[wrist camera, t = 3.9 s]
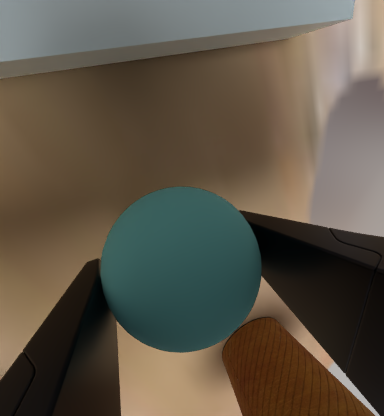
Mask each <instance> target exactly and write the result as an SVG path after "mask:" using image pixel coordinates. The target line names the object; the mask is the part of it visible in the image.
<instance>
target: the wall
mask: <svg viewBox="0 0 384 416" xmlns="http://www.w3.org/2000/svg"><path fill="white" fill-rule="evenodd" d="M354 3H355V0H0V79H3V78H10V77H17V76H24V75H32V74H39V73H46V72H53V71H60V70H68V69H75V68H82V67H89V66H96V65H104V64H111V63H118V62H125V61H132V60H140V59H147V58H154V57H161V56H169V55H176V54H183V53H190V52H197V51H205V50H212V49H219V48H226V47H233V46H241V45H248V44H255V43H262V42H269V41H277V40H284V39H289V38H292V37H296V36H299V35H302V34H305V33H308V32H311V31H315V30H318V29H321V28H324V27H327V26H331V25H334V24H337V23H340V22H343V21H347V20H350V19H352V18H353V10H354Z"/></svg>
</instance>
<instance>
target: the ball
mask: <svg viewBox="0 0 384 416" xmlns="http://www.w3.org/2000/svg"><path fill="white" fill-rule="evenodd" d="M261 272H262V268H261V255H260V251H259V247H258V243H257V240H256V238H255V235H254V233H253V231H252V229H251V227H250V225H249V224H248V222H247V221H246V219H245V218H244V217H243V215H242V214H241V213H240V212H239V211H238V210H237V209H236V208H235V207H234V206H233V205H232V204H230V203H229V202H228V201H226V200H225V199H223V198H222V197H220V196H218V195H216V194H214V193H212V192H209V191H206V190H203V189H199V188H194V187H169V188H165V189H160V190H157V191H155V192H152V193H149V194H147V195H145V196H143V197H142V198H140V199H139V200H137V201H136V202H134V203H133V204H132V205H130V206H129V207H128V208H127V209H126V210H125V211H124V212H123V213H122V214H121V215H120V217H119V218H118V219H117V221H116V222H115V224H114V225H113V226H112V228H111V230H110V232H109V234H108V236H107V239H106V242H105V245H104V248H103V252H102V257H101V272H100V276H101V283H102V289H103V293H104V296H105V299H106V301H107V304H108V307H109V309H110V310H111V312H112V314H113V315H114V317H115V318H116V320H117V321H118V323H119V324H120V325H121V326H122V327H123V328H124V329H125V330H126V331H127V332H128V333H129V334H130V335H132V336H133V337H134V338H136V339H137V340H139V341H140V342H142V343H144V344H146V345H148V346H151V347H153V348H156V349H159V350H163V351H168V352H180V353H182V352H192V351H197V350H201V349H205V348H208V347H210V346H213V345H215V344H217V343H219V342H220V341H222V340H224V339H225V338H227V337H228V336H229V335H231V334H232V333H233V332H234V331H235V330H236V329H237V328H238V327H239V326H240V325H241V323H242V322H243V321H244V320H245V318H246V317H247V316H248V314H249V312H250V311H251V309H252V307H253V305H254V303H255V300H256V297H257V295H258V291H259V287H260V281H261Z"/></svg>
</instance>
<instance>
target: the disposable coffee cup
mask: <svg viewBox="0 0 384 416" xmlns="http://www.w3.org/2000/svg"><path fill="white" fill-rule="evenodd" d="M222 359H223V362H224V365H225V367H226V370H227V373H228V376H229V379H230V382H231V384H232V387H233V390H234V393H235V395H236V398H237V401H238V404H239V407H240V410H241V413H242V415H243V416H375V415H374V414H373V413H372V412H371V411H370V410H369V409H368V408H367V407H366V406H365V405H363V403H361V401H359V400H358V399H357V398H356V397H355V396H354V395H353V394H352V393H351V392H350V391H349V390H348V389H347V388H346V387H345V386H344V385H343V384H342V383H341V382H340V381H339V380H338V379H337V378H336V377H335V376H333V375H332V374H331V373H330V372H329V371H328V370H327V369H326V368H325V367H324V366H323V365H322V364H321V363H320V362H319V361H318V360H317V359H316V358H315V357H314V356H313V355H312V354H311V353H310V352H308V351H307V350H306V349H305V348H304V347H303V346H302V345H301V344H300V343H299V342H298V341H297V340H296V339H295V338H294V337H293V336H292V335H291V334H290V333H289V332H288V331H287V330H286V329H285V328H284V327H282V326H281V325H280V324H279V323H278V322H277V321H276V320H275V319H273V318H260V319H257V320H254V321H252V322H250V323H248V324H246V325H244V326H243V327H242V328H240V329H239V330H238V331H237V332H236V333H234V334H233V336H232V337H231V338H230V339H229V341H228V342H227V343H226V345H225V347H224V350H223V353H222Z"/></svg>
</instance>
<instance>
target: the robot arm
mask: <svg viewBox="0 0 384 416" xmlns="http://www.w3.org/2000/svg"><path fill="white" fill-rule="evenodd" d="M239 212H240V213H241V214H242V215H243V217H244V218H245V219H246V221H247V222H248V224H249V225H250V227H251V229H252V231H253V233H254V235H255V238H256V240H257V243H258V247H259V251H260V255H261V268H262V272H261V276H262V277H263V278H264V279H265V280H266V281H267V283H268V284H269V285H270V286H271V287H272V289H273V290H274V291H275V292H276V293H277V294H278V296H279V297H280V298H281V299H282V300H283V302H284V303H285V304H286V305H287V306H288V307H289V309H290V310H291V311H292V312H293V313H294V314H295V316H296V317H297V318H298V319H299V320H300V322H301V323H302V324H303V325H304V326H305V327H306V329H307V330H308V331H309V332H310V333H311V334H312V336H313V337H314V338H315V339H316V340H317V342H318V343H319V344H320V345H321V346H322V347H323V349H324V350H325V351H326V352H327V353H328V354H329V356H330V357H331V358H332V359H333V360H334V362H335V363H336V364H337V365H338V366H339V367H340V369H341V370H342V371H343V372H344V373H346V376H347V377H348V378H349V379H350V381H351V382H352V383H353V384H354V385H355V387H357V389H358V390H359V391H360V392H361V394H362V395H363V396H364V397H365V398H366V399H367V401H368V402H369V403H370V404H371V405H372V407H373V408H374V409H375V410H376V411H377V412H378V414H379V415H380V416H384V237H380V236H373V235H366V234H360V233H354V232H348V231H343V230H338V229H333V228H329V229H328V228H327V227H323V226H318V225H312V224H307V223H302V222H297V221H292V220H287V219H282V218H277V217H272V216H267V215H262V214H256V213H251V212H246V211H241V210H240V211H239ZM100 272H101V260H100V259H95V260H92V261H89V262H87V263H86V264H85V265H84V267H83V268H82V270H81V271H80V272H79V274H78V275H77V276H76V278H75V279H74V281H73V282H72V283H71V285H70V286H69V287H68V289H67V290H66V292H65V293H64V294H63V296H62V297H61V298H60V300H59V301H58V303H57V304H56V305H55V307H54V308H53V309H52V311H51V312H50V314H49V315H48V316H47V318H46V319H45V320H44V322H43V323H42V325H41V326H40V327H39V329H38V330H37V331H36V333H35V334H34V336H33V337H32V338H31V340H30V341H29V342H28V344H27V345H26V347H25V348H24V349H23V352H24V353H23V352H22V353H20V355H19V356H18V357H17V359H16V360H15V361H14V363H13V364H12V366H11V367H10V368H9V370H8V371H7V372H6V374H5V375H4V376H3V378H2V379H1V380H0V416H121V406H120V385H119V363H118V342H117V324H116V318H115V317H114V315H113V314H112V312H111V310H110V309H109V307H108V304H107V301H106V299H105V296H104V293H103V289H102V283H101V276H100Z"/></svg>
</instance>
